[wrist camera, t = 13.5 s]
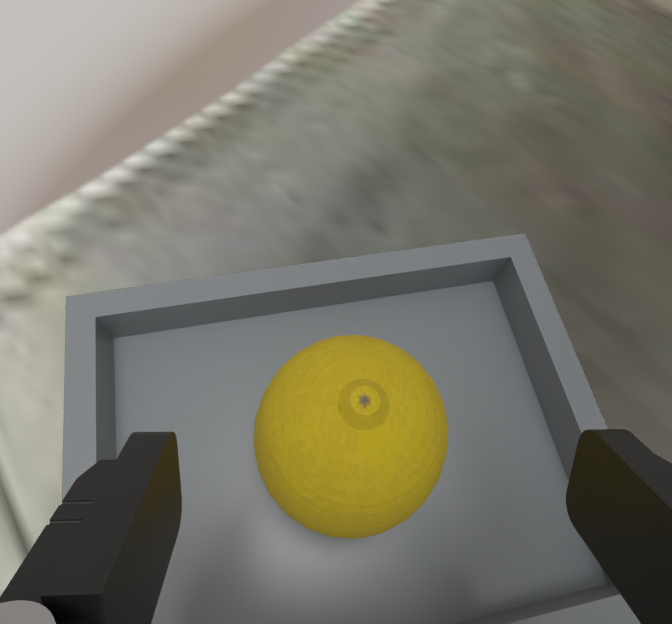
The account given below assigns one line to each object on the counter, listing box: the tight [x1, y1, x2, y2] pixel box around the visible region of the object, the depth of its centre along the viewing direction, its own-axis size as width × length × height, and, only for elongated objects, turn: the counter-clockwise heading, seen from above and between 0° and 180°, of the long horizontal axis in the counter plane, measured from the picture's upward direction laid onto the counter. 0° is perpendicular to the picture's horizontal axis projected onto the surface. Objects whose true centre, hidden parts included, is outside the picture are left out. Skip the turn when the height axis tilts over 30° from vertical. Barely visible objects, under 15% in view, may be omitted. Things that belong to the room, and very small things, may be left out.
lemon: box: [253, 335, 448, 539], centre depth 15 cm, size 6×6×8 cm
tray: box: [62, 233, 641, 624], centre depth 18 cm, size 18×14×3 cm
